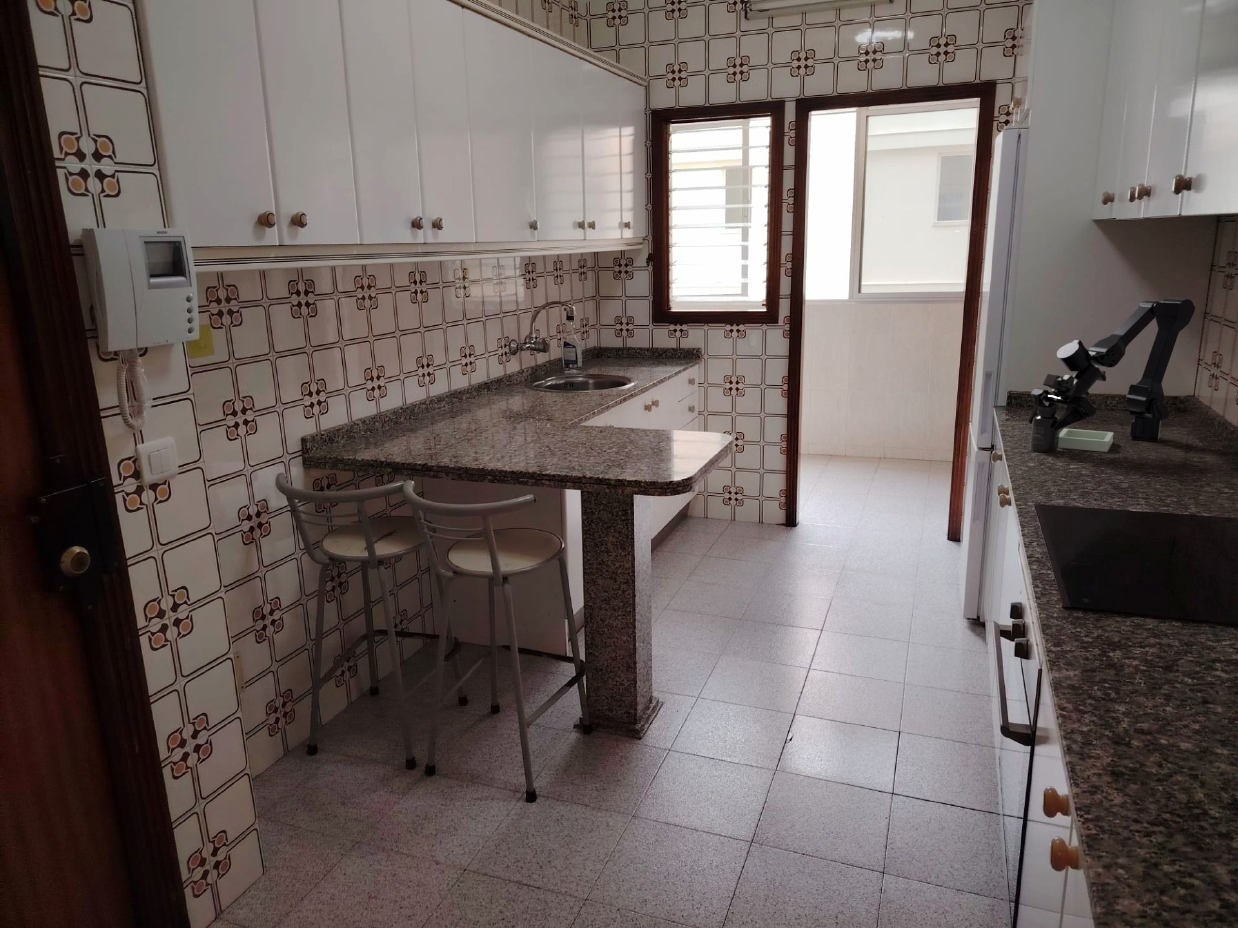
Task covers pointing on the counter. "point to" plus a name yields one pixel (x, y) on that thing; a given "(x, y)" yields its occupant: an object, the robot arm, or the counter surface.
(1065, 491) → the counter surface
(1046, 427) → the supplement bottle
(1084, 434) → the mint green square tray
